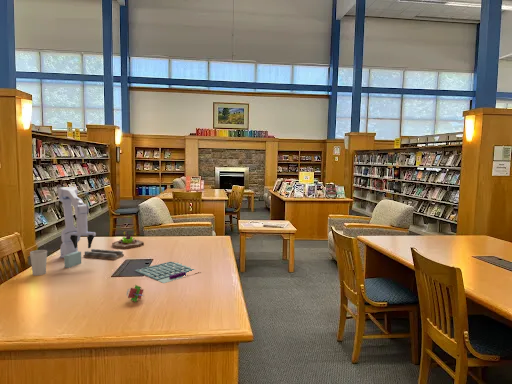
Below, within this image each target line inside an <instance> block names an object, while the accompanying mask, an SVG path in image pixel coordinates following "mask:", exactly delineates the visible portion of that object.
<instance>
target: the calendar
mask: <svg viewBox="0 0 512 384" xmlns="http://www.w3.org/2000/svg"><path fill="white" fill-rule="evenodd" d="M190 267H191V266H186V264H184V265H183V264H182V263H179V262H175V261H167V262H163V263H158V264H155V265H150V266H146V267H143V268H138V269H134V272H136V273H137V274H138V273H139V274H140V275H143V276H145V277H148V278H149V279H153V280H155V281H157V282H160V283H162V284H166V283H169V282H173V280H174V281H177V280H180V278H181V279H183V278H182V277H183V276H184V275H185V276H186V273H187V272H189V271H192V270H195V269H191V268H192V267H191V268H190ZM176 279H177V280H176Z"/></svg>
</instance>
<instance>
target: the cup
mask: <svg viewBox="0 0 512 384" xmlns="http://www.w3.org/2000/svg"><path fill="white" fill-rule="evenodd" d="M29 256H30V263H31V265H30V266H31V271H32V276H43V275H46V274H47V258H48V257H47V256H48V250H47V249H36V250H32V251H30V252H29Z"/></svg>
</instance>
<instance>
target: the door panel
mask: <svg viewBox="0 0 512 384" xmlns="http://www.w3.org/2000/svg"><path fill="white" fill-rule="evenodd" d="M63 261H64V268H66V269H69V268H70V269H71V268H72V266H73V267H75V266H78V265H81V264H82V251H79V250H78V251H76V252H73V253H70V254H67V255H64V258H63Z"/></svg>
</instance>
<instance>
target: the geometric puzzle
mask: <svg viewBox="0 0 512 384" xmlns="http://www.w3.org/2000/svg"><path fill="white" fill-rule="evenodd" d="M144 290H145V289H144V288H142V286H139V285H137V284H135V285H134V287H130V288H128V289H127V291H126V296H127V298H128V299H129V300H130V301H132V300H133V301H132V302H134V301H135V303H137V302H139V301H140V300H141V299H142V297H144Z"/></svg>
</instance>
